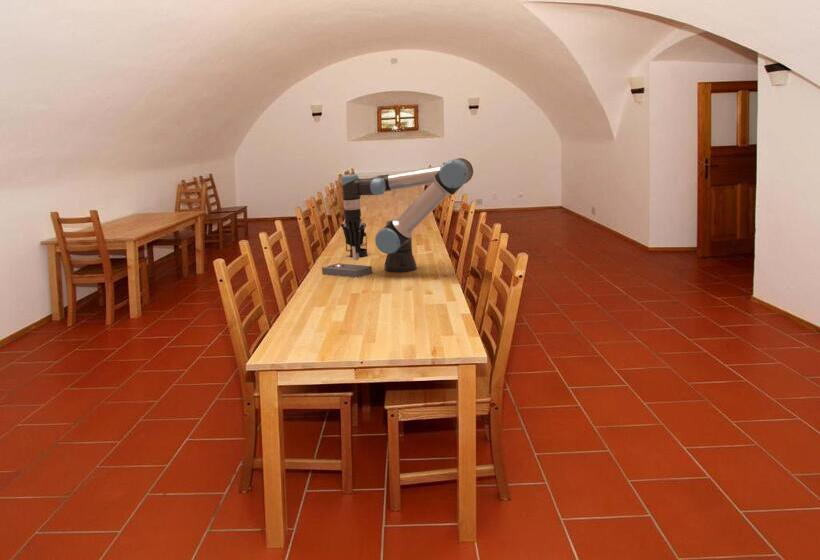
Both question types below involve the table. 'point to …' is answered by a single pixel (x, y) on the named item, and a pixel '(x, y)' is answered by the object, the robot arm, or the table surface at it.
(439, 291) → the table surface
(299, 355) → the table surface
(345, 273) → the plate
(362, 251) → the french press
